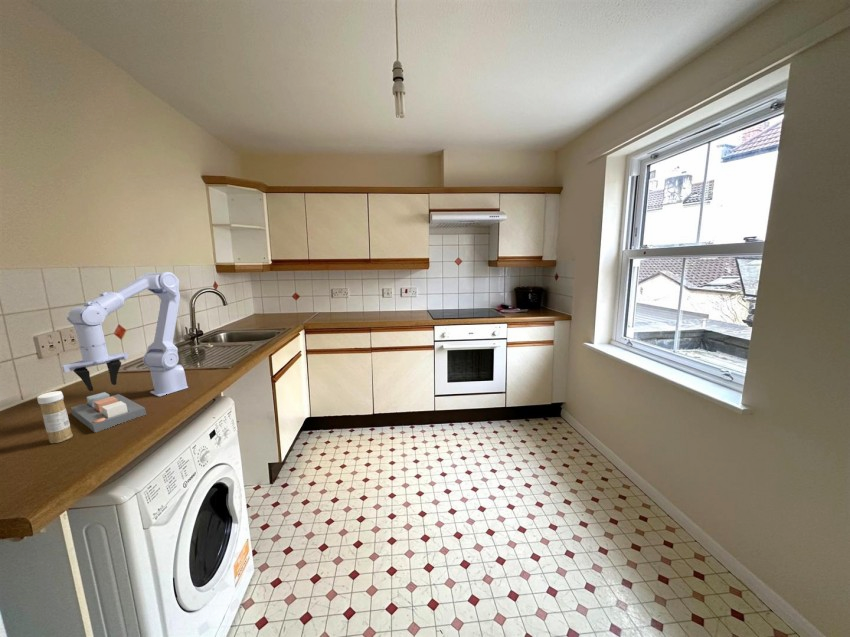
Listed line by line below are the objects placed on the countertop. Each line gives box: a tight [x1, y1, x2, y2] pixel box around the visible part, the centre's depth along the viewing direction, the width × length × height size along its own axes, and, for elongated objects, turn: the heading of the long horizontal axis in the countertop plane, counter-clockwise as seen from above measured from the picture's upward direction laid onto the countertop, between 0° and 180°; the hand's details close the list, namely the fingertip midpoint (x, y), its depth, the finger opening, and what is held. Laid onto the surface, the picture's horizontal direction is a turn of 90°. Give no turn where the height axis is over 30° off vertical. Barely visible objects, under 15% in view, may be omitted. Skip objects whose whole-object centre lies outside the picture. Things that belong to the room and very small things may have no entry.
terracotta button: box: [94, 395, 118, 413], centre depth 105 cm, size 4×4×3 cm
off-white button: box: [102, 401, 128, 418], centre depth 101 cm, size 4×4×3 cm
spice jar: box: [36, 390, 74, 444], centre depth 91 cm, size 5×5×14 cm
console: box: [70, 393, 147, 433], centre depth 106 cm, size 12×23×3 cm, turn 58°
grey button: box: [86, 391, 111, 408], centre depth 109 cm, size 4×4×3 cm
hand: (102, 387), depth 104 cm, fingers open, 5 cm apart
